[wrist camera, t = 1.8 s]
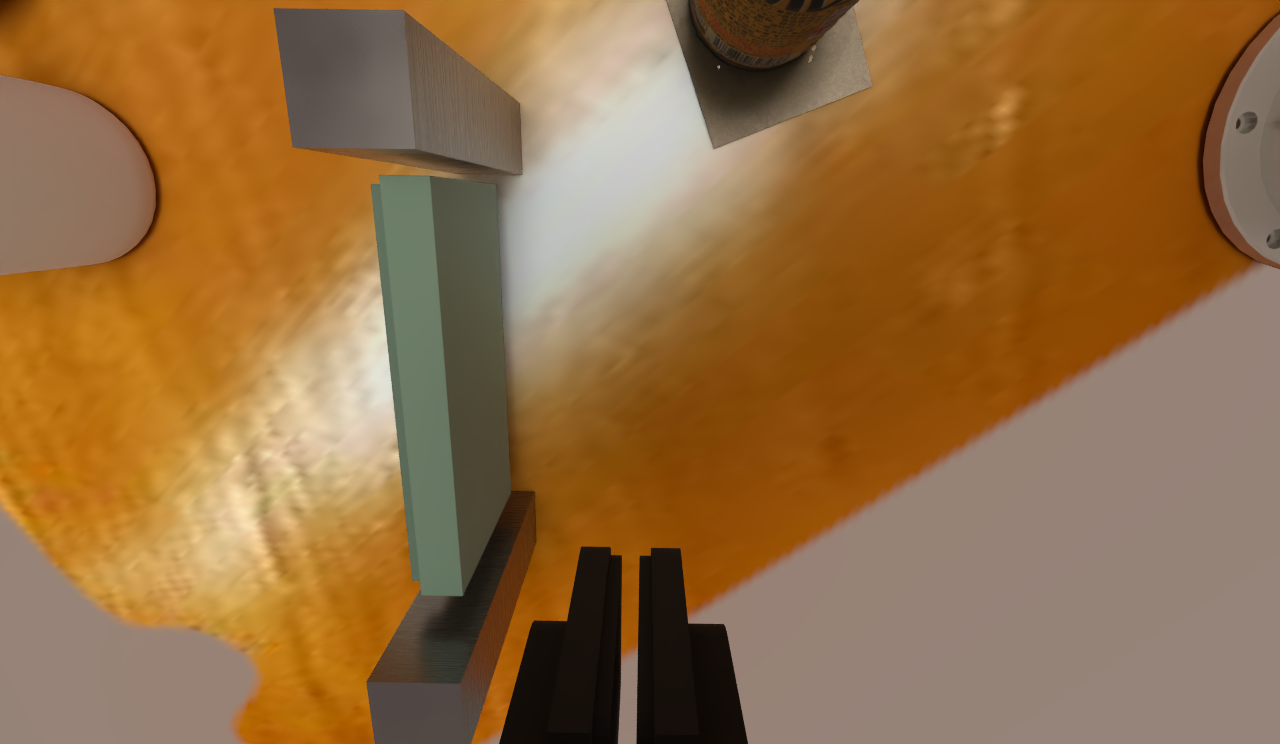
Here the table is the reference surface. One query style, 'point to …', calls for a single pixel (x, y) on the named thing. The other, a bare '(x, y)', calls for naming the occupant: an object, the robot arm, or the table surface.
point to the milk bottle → (67, 180)
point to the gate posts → (451, 142)
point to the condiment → (768, 59)
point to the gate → (445, 368)
